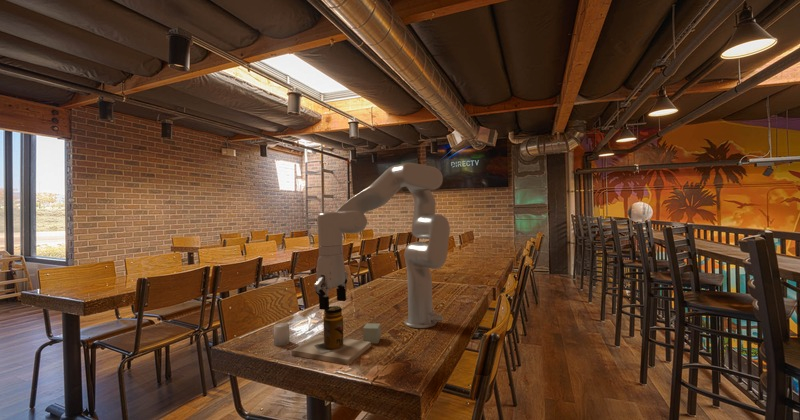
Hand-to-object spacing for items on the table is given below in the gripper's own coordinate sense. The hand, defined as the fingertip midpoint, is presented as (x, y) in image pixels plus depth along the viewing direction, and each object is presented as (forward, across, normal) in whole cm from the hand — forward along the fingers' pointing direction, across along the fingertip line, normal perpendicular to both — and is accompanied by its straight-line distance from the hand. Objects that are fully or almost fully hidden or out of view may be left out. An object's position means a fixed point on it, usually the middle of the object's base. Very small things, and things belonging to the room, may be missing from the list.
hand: (333, 304), depth 106 cm
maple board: (+14, +1, 0) cm, 14 cm away
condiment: (+13, +2, 0) cm, 13 cm away
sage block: (+15, -11, +8) cm, 20 cm away
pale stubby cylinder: (+14, +1, -20) cm, 25 cm away
